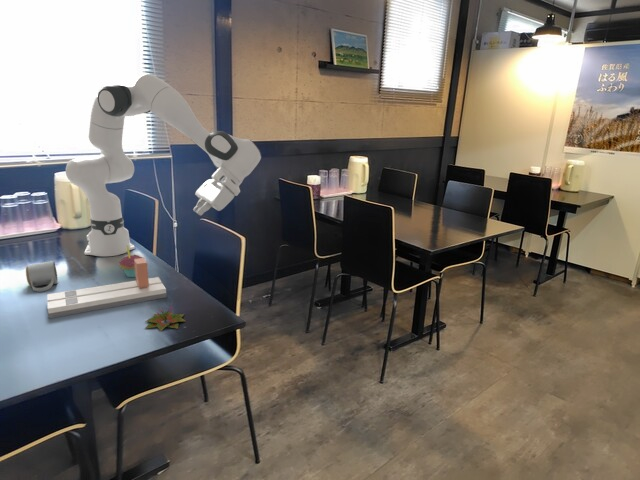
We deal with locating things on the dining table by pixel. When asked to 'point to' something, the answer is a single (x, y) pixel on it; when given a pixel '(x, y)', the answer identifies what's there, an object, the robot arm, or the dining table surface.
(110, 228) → the robot arm
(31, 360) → the dining table surface
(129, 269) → the cupcake
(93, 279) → the dining table surface
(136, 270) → the fader
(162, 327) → the lily flower
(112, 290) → the white slider track base
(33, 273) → the ceramic mug
